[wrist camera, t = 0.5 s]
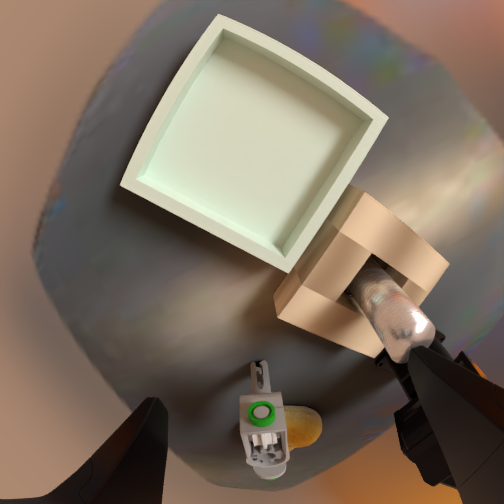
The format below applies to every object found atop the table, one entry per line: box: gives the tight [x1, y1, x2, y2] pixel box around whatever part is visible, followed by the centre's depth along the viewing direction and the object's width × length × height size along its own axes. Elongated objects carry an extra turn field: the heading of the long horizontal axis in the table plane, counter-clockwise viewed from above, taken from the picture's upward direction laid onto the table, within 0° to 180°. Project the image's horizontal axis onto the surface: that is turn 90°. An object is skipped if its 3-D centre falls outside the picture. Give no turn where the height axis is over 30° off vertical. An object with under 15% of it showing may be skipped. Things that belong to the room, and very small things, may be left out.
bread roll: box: [283, 406, 322, 452], centre depth 27 cm, size 8×9×4 cm
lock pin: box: [347, 256, 435, 363], centre depth 17 cm, size 3×3×9 cm
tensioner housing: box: [273, 184, 449, 358], centre depth 20 cm, size 10×10×3 cm
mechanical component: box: [240, 360, 290, 480], centre depth 20 cm, size 3×10×10 cm, turn 6°
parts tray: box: [120, 14, 389, 274], centre depth 16 cm, size 12×12×2 cm
